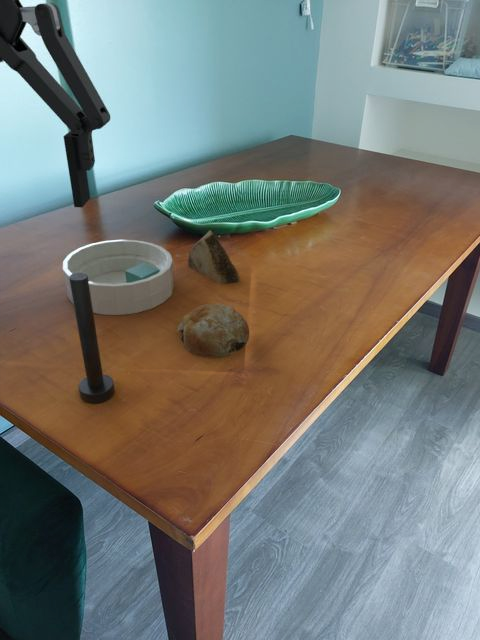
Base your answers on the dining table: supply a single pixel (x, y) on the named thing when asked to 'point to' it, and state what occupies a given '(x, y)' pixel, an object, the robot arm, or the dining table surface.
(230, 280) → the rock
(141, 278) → the block
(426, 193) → the dining table surface
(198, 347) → the bread roll
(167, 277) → the bowl
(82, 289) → the stirrer
